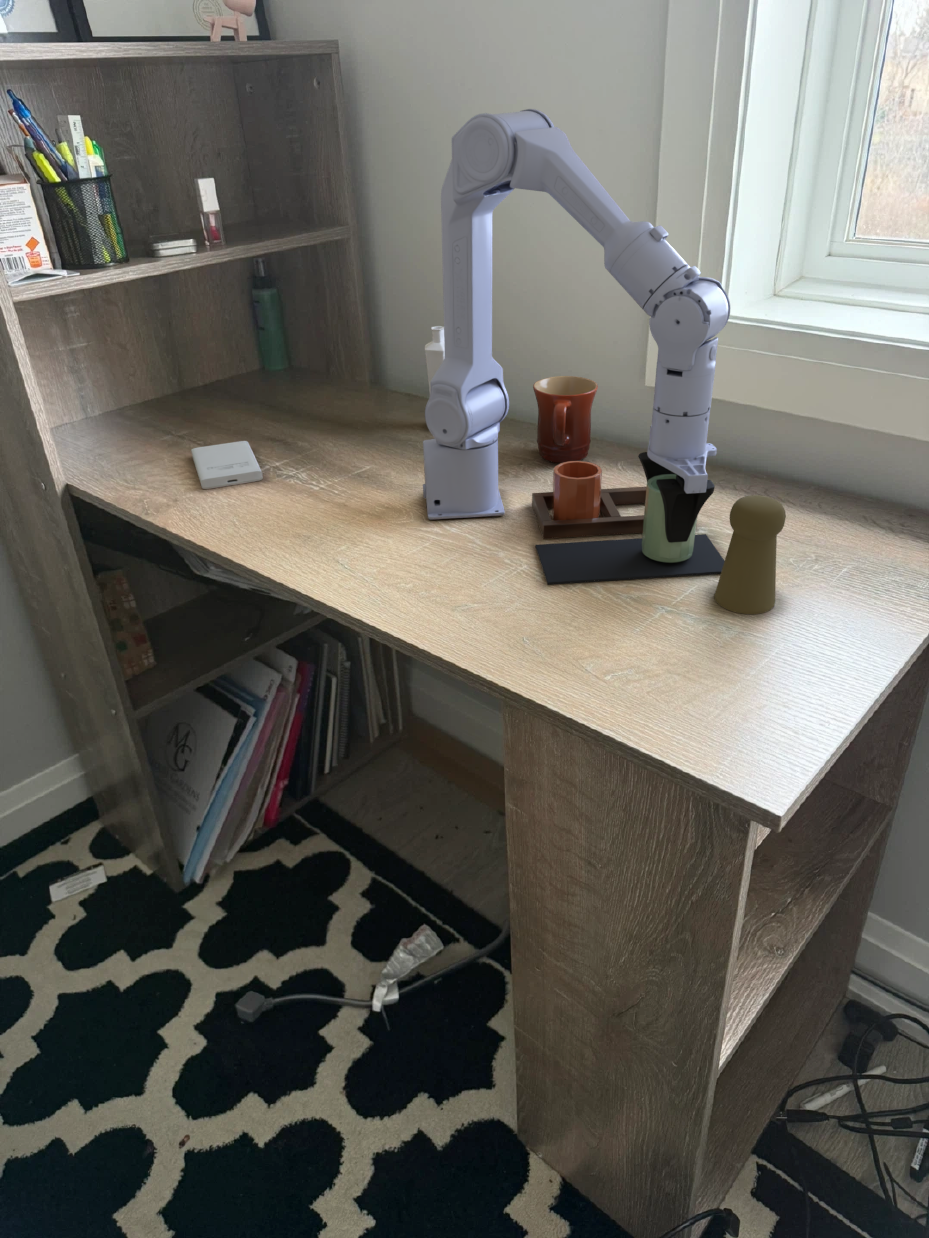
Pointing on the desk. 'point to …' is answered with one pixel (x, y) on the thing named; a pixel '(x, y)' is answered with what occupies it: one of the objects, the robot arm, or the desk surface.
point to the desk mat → (621, 561)
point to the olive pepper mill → (751, 556)
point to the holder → (592, 526)
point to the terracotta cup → (576, 490)
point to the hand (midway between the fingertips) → (669, 528)
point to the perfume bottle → (435, 352)
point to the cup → (662, 528)
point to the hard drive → (226, 464)
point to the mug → (564, 417)
